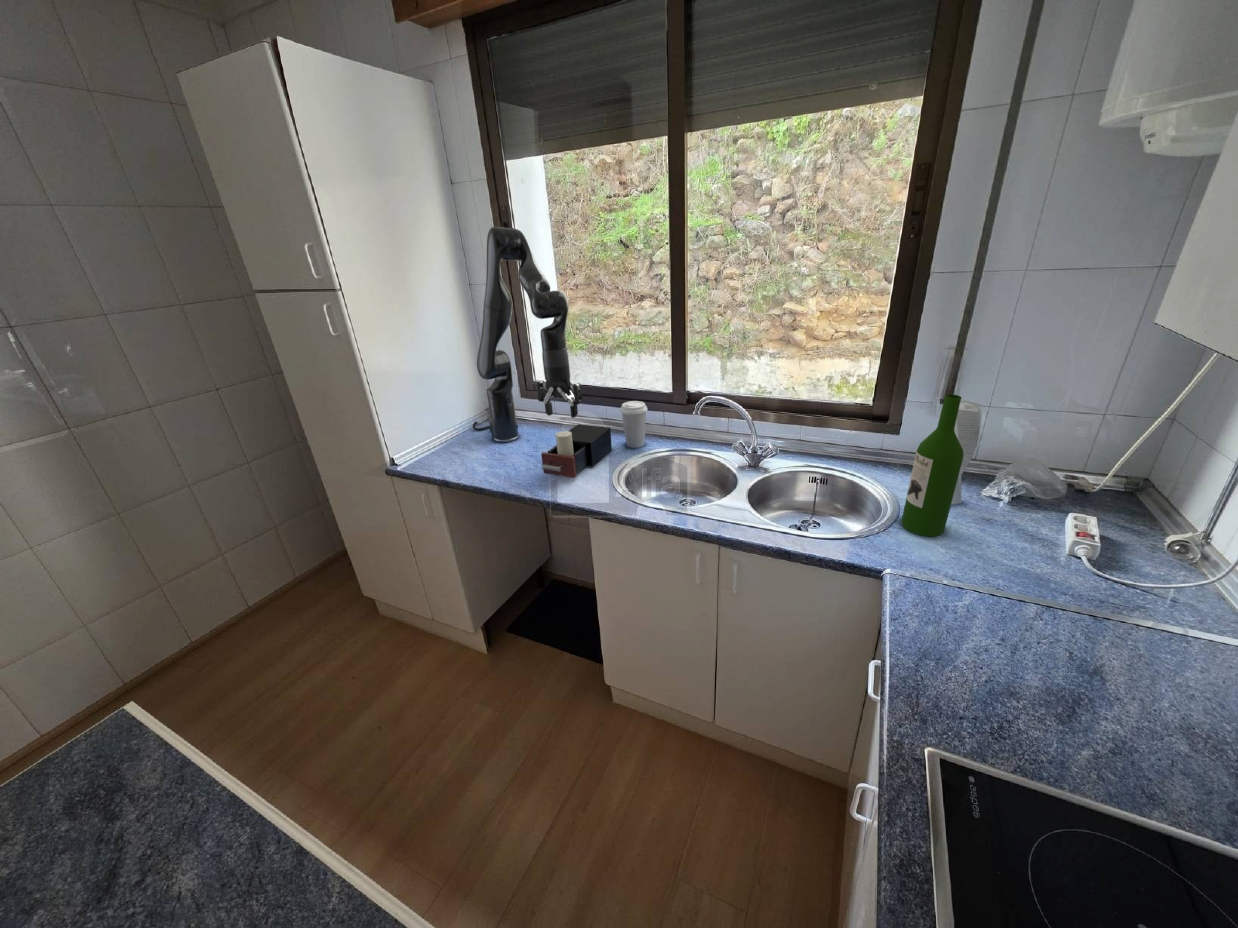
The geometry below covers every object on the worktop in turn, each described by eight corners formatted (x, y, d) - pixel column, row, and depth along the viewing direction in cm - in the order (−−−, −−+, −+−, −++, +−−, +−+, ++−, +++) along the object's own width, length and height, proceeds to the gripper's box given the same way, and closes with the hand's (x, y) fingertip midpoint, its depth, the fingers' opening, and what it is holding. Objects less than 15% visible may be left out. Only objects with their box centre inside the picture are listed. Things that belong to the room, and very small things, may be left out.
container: (556, 468, 155) (552, 435, 150) (564, 461, 159) (560, 430, 154) (569, 470, 153) (566, 437, 148) (577, 463, 157) (574, 431, 152)
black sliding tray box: (592, 467, 159) (590, 442, 155) (559, 462, 164) (556, 438, 160) (611, 450, 171) (610, 427, 167) (580, 446, 176) (578, 424, 172)
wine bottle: (892, 521, 120) (918, 393, 107) (922, 514, 122) (952, 388, 108) (921, 539, 112) (953, 404, 99) (953, 533, 114) (989, 399, 101)
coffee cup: (617, 442, 177) (615, 403, 171) (641, 437, 180) (639, 398, 174) (629, 451, 169) (627, 410, 163) (653, 445, 172) (652, 405, 166)
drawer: (568, 484, 146) (565, 463, 143) (536, 478, 151) (533, 458, 148) (594, 461, 161) (593, 442, 158) (565, 456, 165) (563, 438, 163)
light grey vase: (941, 509, 124) (968, 403, 112) (919, 496, 130) (942, 395, 119) (968, 504, 125) (997, 399, 114) (945, 491, 132) (970, 391, 120)
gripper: (583, 361, 142) (588, 414, 149) (542, 359, 148) (548, 410, 155) (570, 367, 136) (576, 422, 143) (528, 365, 142) (535, 417, 149)
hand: (561, 415), depth 149 cm, fingers open, 8 cm apart
